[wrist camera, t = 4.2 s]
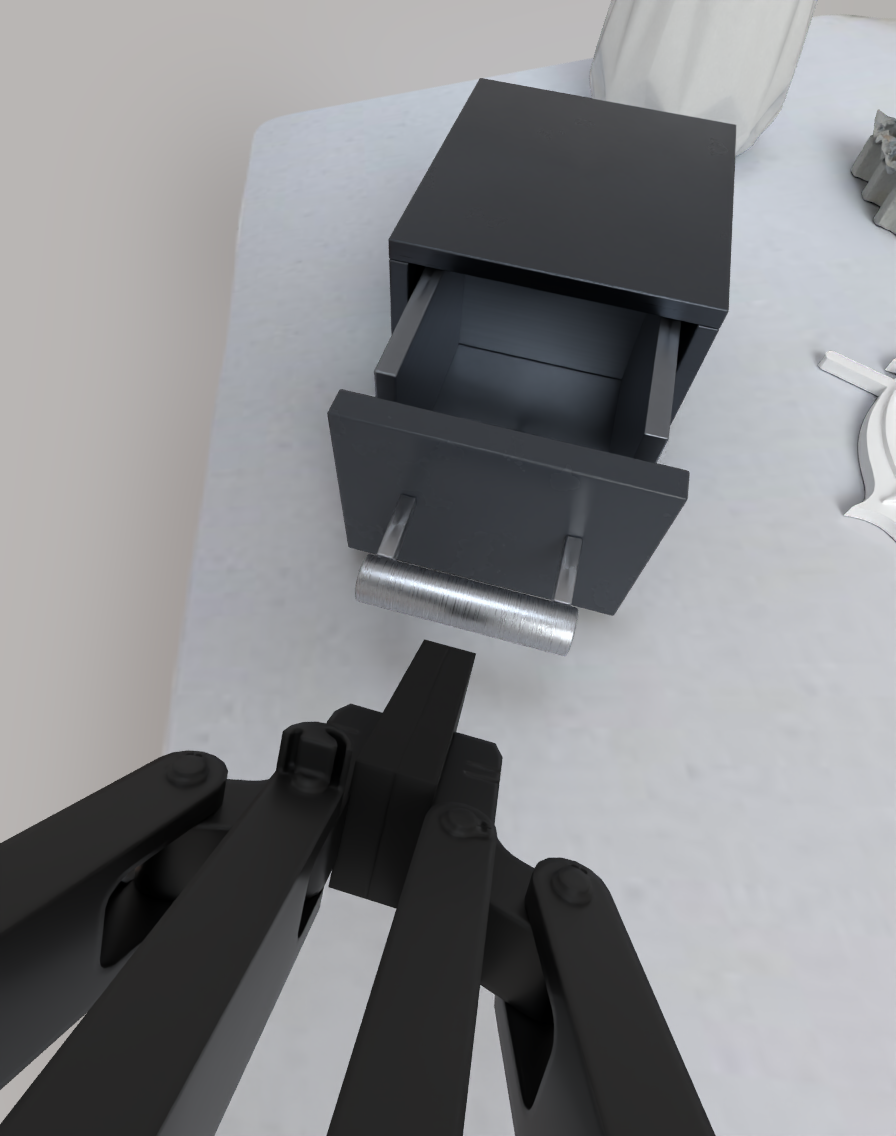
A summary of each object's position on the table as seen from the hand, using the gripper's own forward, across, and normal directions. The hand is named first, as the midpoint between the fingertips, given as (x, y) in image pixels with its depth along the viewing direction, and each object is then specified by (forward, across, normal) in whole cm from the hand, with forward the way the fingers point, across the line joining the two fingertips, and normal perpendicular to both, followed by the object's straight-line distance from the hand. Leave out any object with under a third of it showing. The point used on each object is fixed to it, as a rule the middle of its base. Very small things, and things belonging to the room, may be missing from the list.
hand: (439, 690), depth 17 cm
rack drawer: (+12, 0, +4) cm, 13 cm away
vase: (+41, +5, +31) cm, 51 cm away
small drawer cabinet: (+20, 0, +11) cm, 23 cm away
